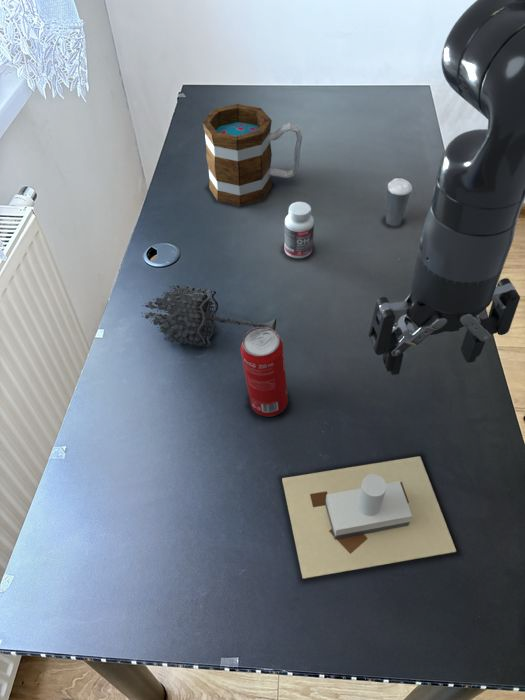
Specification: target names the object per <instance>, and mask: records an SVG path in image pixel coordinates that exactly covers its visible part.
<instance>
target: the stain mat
mask: <svg viewBox="0 0 525 700" xmlns="http://www.w3.org/2000/svg"><path fill="white" fill-rule="evenodd" d="M424 465H425V464H424V462H423V460H422V457H421V456H420V455H419V456H413V457H407V458H400V459H393V460H387V461H380V462H375V463H368V464H362V465H356V466H351V467H350V466H349V467H345V468H344V467H342V468H337V469H332V470H325V471H319V472H312V473H308V474H301V475H294V476H289V477H282V478H281V481H282V486H283V491H284V495H285V500H286V501H285V502H286V505H287V510H288V515H289V519H290V524H291V529H292V534H293V538H294V543H295V548H296V553H297V559H298V563H299V568H300V573H301V577H302V580H305V579H310V578H316V577H322V576H328V575H333V574H339V573H344V572H350V571H356V570H362V569H367V568H368V569H369V568H373V567H378V566H385V565H390V564H396V563H401V562H408V561H413V560H418V559H419V560H420V559H425V558H430V557H436V556H441V555H446V554H453V553H457V549H456V547H455V543H454V541H453V539H452V536H451V533H450V530H449V527H448V526H447V522H446V520H445V518H444V515H443V512H442V510H441V507H440V504H439V502H438V499H437V497H436V493H435V491H434V489H433V486H432V483H431V481H430V478H429V475H428V473H427V470H426V468H425V466H424ZM371 474H375V475H378V476H380V477H382V478H383V479H384V481H385V482H386V484H387V483H393V482H398V481H400V484H401V486H402V489H403V492H404V495H405V497H406V500H407V503H408V506H409V508H410V511H411V514H412V518H411V521H410V523H409V525H408V526H404V527H399V528H393V529H388V530H383V531H377V532H372V533H367V534H362V535H356V536H351V537H346V538H340V539H334V535H333V532H332V528H331V524H330V521H329V517H328V513H327V509H326V506H325V503H326V495H327V494H332V493H338V492H343V491H349V490H354V489H360V488H361V484H362V480H363V479H364V478H365V477H366V476H367V475H371Z"/></svg>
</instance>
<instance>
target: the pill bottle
mask: <svg viewBox="0 0 525 700" xmlns="http://www.w3.org/2000/svg"><path fill="white" fill-rule="evenodd" d="M314 227H315V220H314V216H313V215H312V207H311V205H310V204H309V203H307V202H304V201H295V202H293V203H291V204H290V205H289V207H288V214H287V215H286V216H285V219H284V244H283V245H284V247H283V248H284V252H285V254H286V255H287V256H289V257H291V258H293V259H304V258H307V257H309V256H310V255H311V254H312V253H313V247H314V244H313V243H314V229H315V228H314Z"/></svg>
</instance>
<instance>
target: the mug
mask: <svg viewBox="0 0 525 700" xmlns="http://www.w3.org/2000/svg"><path fill="white" fill-rule="evenodd" d="M272 121H273V120H272V119H271V118H270V116H268V114H267V112H265V111H264V109H262V107H256V106H251V105H246V104H240V103H237V104H235V103H234V104H230V105H227V106H222V107H217V108H214V109H212V110H211V112H209V114H208V115H207V116H206V117H205V119H204V120H202V122H201V123H202V126H203V131H204V137H205V159H206V163H207V168H208V177H209V178H208V179H209V180H208V188H209V190H210V192H211V193H212V195H213V197H215V200H216V201H217V202H221V203H225V204H228V205H234V206H238V207H242V206H245V205H250V204H253V203H257V202H261V201H264V199H265V198H266V196H267V194H268V193H269V191H270V190H271V189H272V187H273V184H272V177H277V178H283V179H289V178H292V177H294V176H295V175H296V174H297V172H298V170H299V168H300V161H301V150H302V149H301V148H302V142H303V135H302V133H301V129H300V127H299V125H296V124H294V123H291V122H287V123H285V124H283V125H280V127H279V128H278V129H277V130H275V131H274V132H271V131H272V129H271V128H272ZM289 131H291V132H294V133H295V135H296V142H295V146H294V159H293V166H292V167H291V169H288V170H283V169H279V168H271V165H272V156H273V154H272V153H273V152H272V144H271V141H272V142H273V141H276V140H278V139H280V138H281V137H282V136H283V134H285V133H287V132H289Z"/></svg>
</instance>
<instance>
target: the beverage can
mask: <svg viewBox="0 0 525 700" xmlns="http://www.w3.org/2000/svg"><path fill="white" fill-rule="evenodd" d="M283 344H284V343H283V341H282V339H281V337H280V336H279V334H278V332H276V330H275V331H274V330H272V329H271V328H267V327H258V326H257V327H254V328H251V329H250V330H248V331H247V332H246V333H245V334H244V336H243V338H242V341H241V345H240V354H241V359H242V364H243V369H244V375H245V382H246V387H247V391H248V397H249V404H250V407H251V409H252V410H253V411H254V412H255V413H256V414H258V415H259V416H263V417H274V416H277V415H279V414H281V413H282V412H284V410H285V409H286V407H287V405H288V403H289V399H288V398H289V397H288V396H289V395H288V388H287V387H288V386H287V375H286V366H285V365H286V364H285V354H284V345H283Z"/></svg>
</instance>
